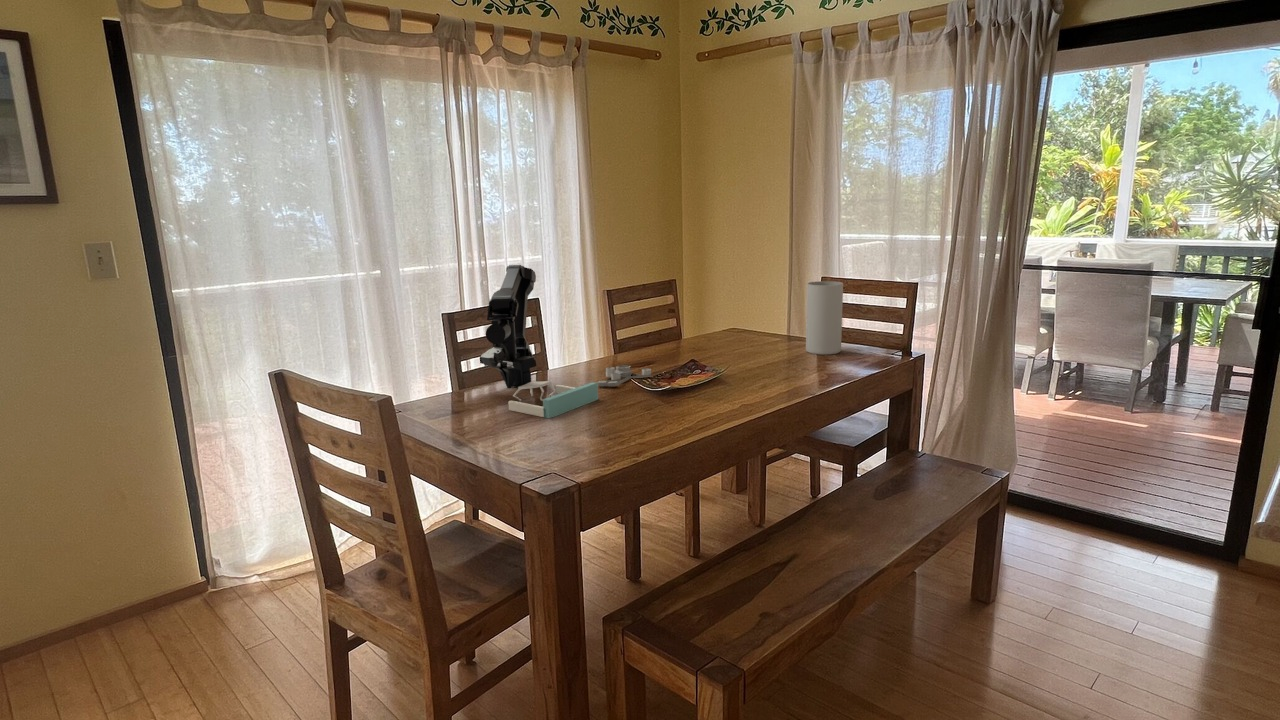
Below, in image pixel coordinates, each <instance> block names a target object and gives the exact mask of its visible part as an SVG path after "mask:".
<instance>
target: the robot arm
mask: <svg viewBox="0 0 1280 720" xmlns="http://www.w3.org/2000/svg"><path fill="white" fill-rule="evenodd" d="M505 269H506V271H505V272H506V273H505V275H504V279H503V281H502V283H501V286H500V288H499V290H496V291H495V292H493V294H492V296H491V298H490V299H489V302H488V307H487V316H486V317H487V318H486V321H491V324H490V325H489V326H488V327H487V328H486V330H485V337H486V339H487V341H488V342H489V343H491V344H492V347H491V348H490V349H487V351H485V352H483V353H482V354H480V356H479V364H480V365H481V364H482V365H483V366H485V367H491V368H493V369H495V370H498V371H499V373H500V374H501V377H502V379H503V381H504V383H505V386H506V388H507V389H512V388H517V389H518V387H520V386H522V385H525V384H527V383H530V382H532V374H531V368H535V367H537V359H536V358H535V356H534V355H533V353H532V350H531V348H530V344H529V342H528V341H527V339H526V330H527V329H526V328H527V318H528V316H527V312H528V303H529V302H528V301H529V295H530V294H531V293H532V291H534V286H535V283H536V281H537V279H536V278H537V276H536V272H535V270H533V269H532V268H529V267H525V266H524V265H522V264H512V265H510V264H509V265H507V266H506V267H505Z"/></svg>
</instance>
